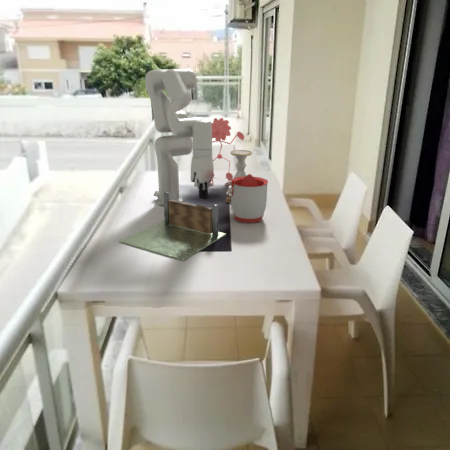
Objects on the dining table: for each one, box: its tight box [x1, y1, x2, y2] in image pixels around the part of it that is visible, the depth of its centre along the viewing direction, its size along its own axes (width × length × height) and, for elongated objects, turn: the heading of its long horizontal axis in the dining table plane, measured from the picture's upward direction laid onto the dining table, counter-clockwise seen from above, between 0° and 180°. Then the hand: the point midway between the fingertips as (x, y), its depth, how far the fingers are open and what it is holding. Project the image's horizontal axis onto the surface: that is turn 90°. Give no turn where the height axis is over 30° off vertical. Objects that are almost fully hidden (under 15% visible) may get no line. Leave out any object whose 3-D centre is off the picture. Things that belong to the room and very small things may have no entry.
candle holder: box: [225, 149, 253, 204], centre depth 208 cm, size 11×11×24 cm
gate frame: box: [119, 192, 227, 262], centre depth 165 cm, size 30×28×14 cm
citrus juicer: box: [226, 173, 269, 224], centre depth 185 cm, size 16×17×20 cm
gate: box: [168, 199, 212, 234], centre depth 173 cm, size 20×2×10 cm, turn 58°
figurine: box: [211, 117, 245, 186], centre depth 239 cm, size 15×26×35 cm, turn 98°
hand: (203, 198), depth 174 cm, fingers closed
